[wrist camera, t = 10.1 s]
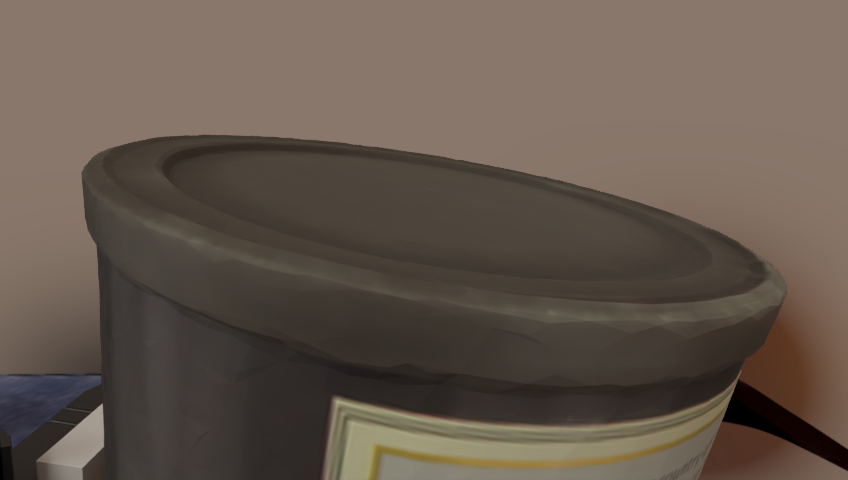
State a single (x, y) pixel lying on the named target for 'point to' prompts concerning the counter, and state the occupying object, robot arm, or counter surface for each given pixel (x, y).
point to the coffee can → (405, 318)
